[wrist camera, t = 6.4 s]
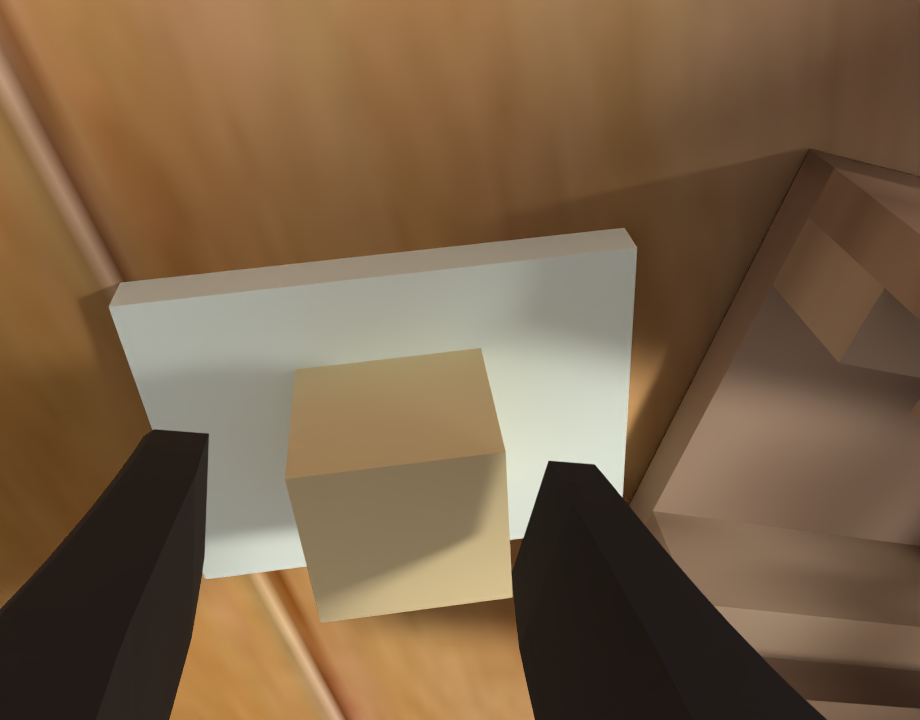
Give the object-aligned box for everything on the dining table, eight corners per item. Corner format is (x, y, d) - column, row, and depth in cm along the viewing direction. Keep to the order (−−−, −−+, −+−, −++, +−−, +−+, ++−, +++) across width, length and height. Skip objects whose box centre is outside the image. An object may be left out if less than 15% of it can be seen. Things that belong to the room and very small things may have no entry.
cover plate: (616, 215, 14) (695, 338, 11) (605, 483, 17) (662, 636, 14) (126, 268, 13) (57, 413, 10) (214, 533, 17) (182, 702, 14)
